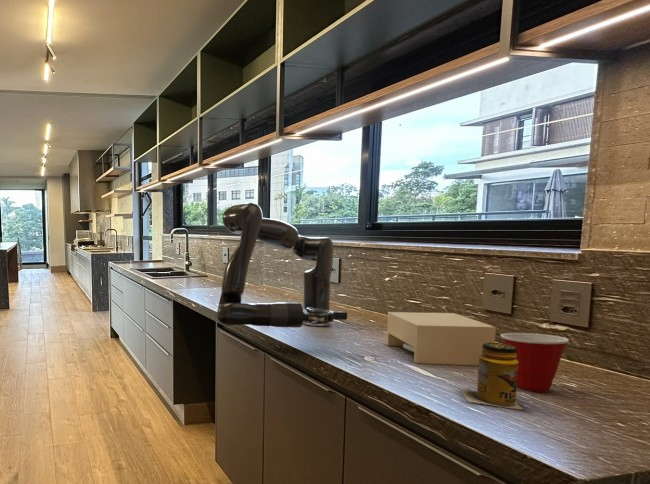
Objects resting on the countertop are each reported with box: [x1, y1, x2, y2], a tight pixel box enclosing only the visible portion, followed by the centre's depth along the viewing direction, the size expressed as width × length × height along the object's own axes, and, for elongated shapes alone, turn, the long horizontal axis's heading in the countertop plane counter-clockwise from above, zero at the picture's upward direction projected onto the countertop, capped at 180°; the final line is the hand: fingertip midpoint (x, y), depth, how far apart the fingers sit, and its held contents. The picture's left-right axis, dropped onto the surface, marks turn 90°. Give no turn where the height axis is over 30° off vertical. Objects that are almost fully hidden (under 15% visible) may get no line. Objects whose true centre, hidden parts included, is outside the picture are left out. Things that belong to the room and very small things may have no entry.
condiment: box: [459, 342, 523, 410], centre depth 86 cm, size 7×8×12 cm
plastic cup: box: [500, 332, 570, 393], centre depth 92 cm, size 11×11×12 cm
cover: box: [386, 311, 497, 366], centre depth 117 cm, size 18×18×10 cm
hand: (346, 315), depth 122 cm, fingers closed
